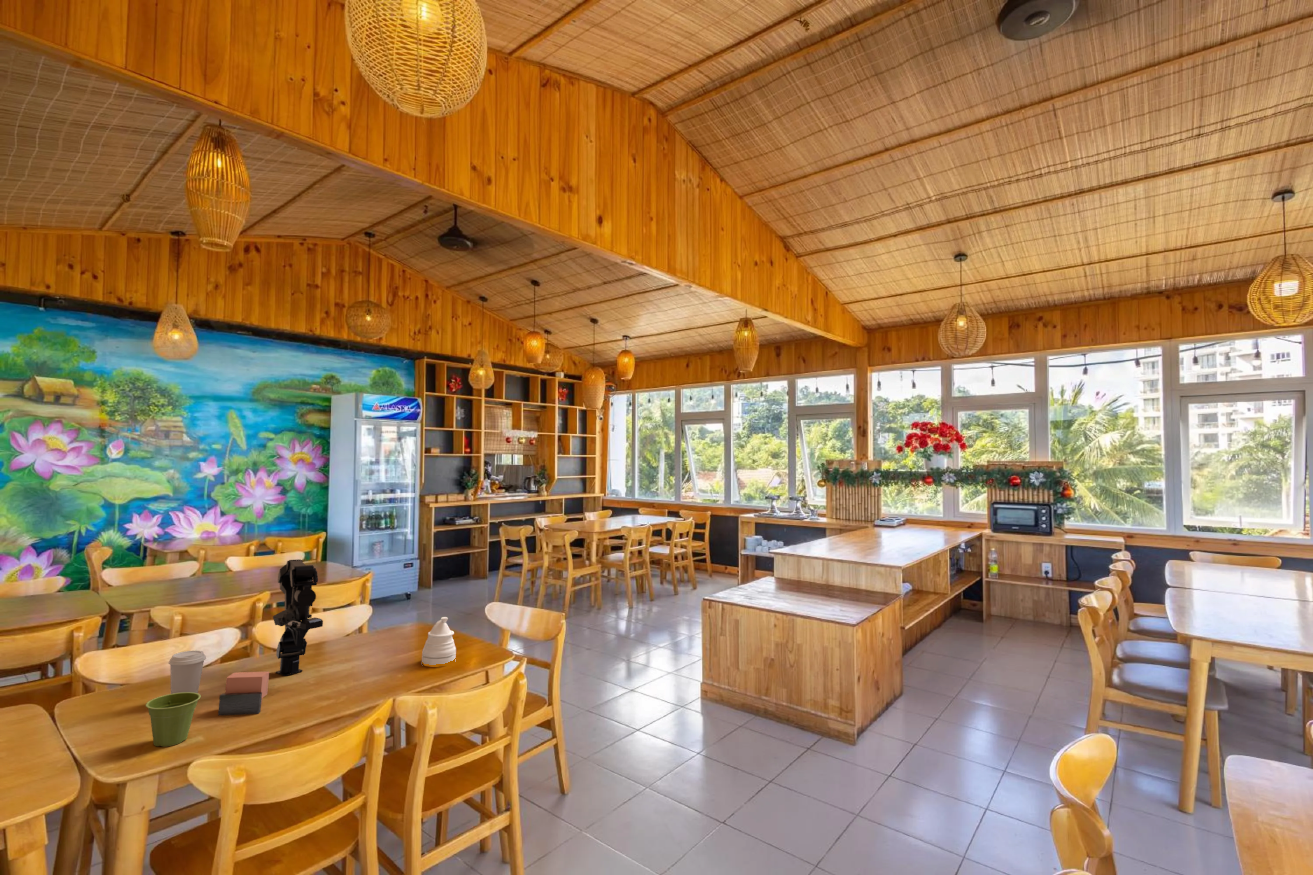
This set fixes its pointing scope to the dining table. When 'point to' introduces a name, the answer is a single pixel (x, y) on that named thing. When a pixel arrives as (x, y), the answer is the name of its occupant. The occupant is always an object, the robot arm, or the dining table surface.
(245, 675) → the reddish brown stepped block
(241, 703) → the dark grey block
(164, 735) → the plant pot
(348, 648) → the dining table surface
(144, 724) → the dining table surface
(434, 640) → the honey pot
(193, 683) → the coffee cup
